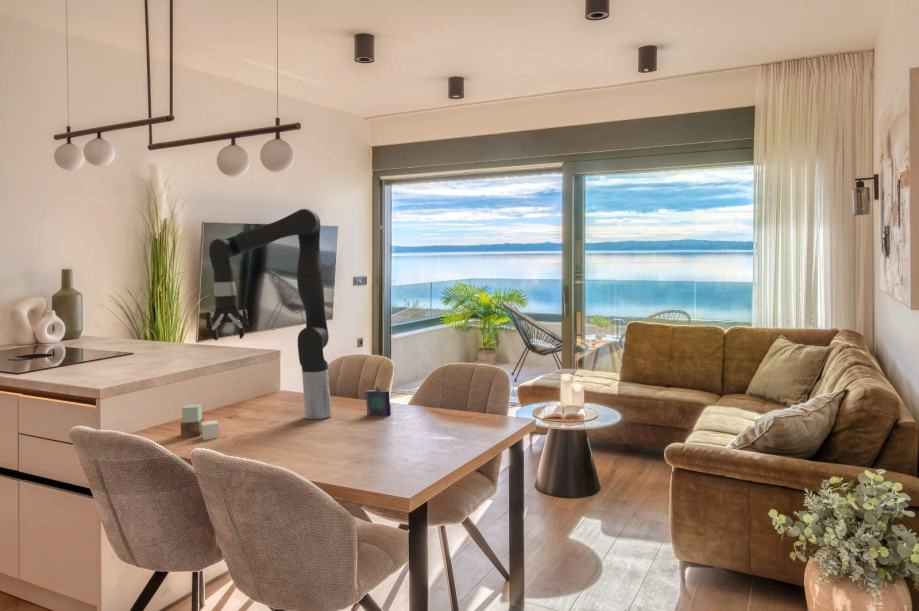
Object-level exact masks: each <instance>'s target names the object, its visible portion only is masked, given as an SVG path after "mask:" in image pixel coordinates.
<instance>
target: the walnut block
mask: <svg viewBox="0 0 919 611" xmlns="http://www.w3.org/2000/svg"><path fill="white" fill-rule="evenodd" d="M201 422H205V421H204V417H202V419H201V420H200V421H199V422H190V423H183V420H182V421H181V422H180V426H179V427H180V435H181V436H180V437H181V438H193V437H194V438H195V437H196V438H197V437H202V426H201Z"/></svg>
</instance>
